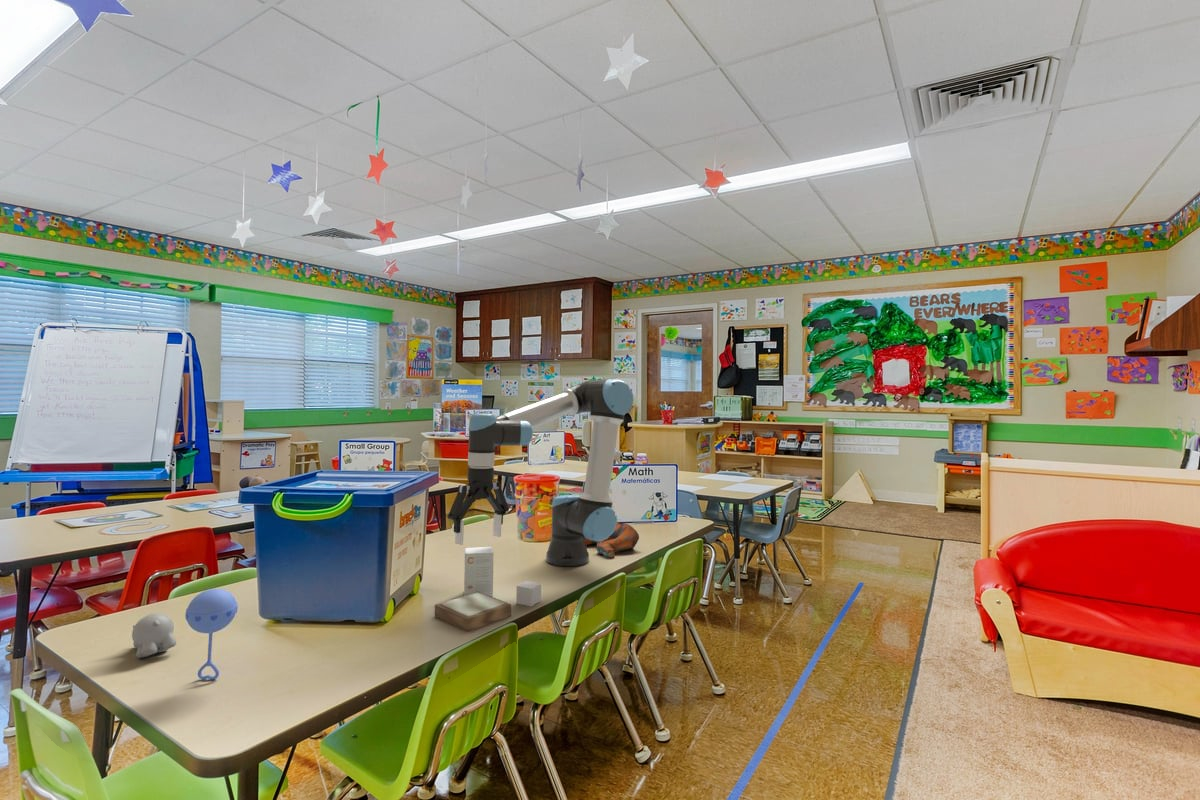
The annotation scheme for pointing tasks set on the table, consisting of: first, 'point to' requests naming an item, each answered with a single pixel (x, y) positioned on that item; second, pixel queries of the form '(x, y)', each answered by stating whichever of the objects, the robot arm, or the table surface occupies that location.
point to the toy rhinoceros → (153, 634)
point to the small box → (478, 571)
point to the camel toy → (617, 540)
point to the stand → (472, 610)
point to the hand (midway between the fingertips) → (478, 540)
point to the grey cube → (528, 593)
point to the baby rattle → (211, 618)
